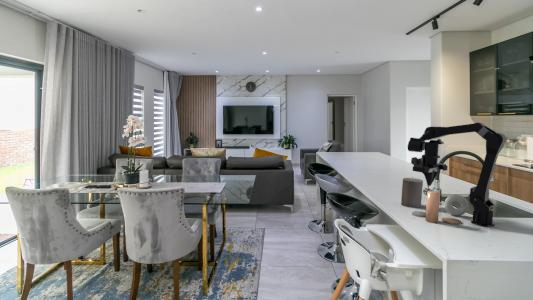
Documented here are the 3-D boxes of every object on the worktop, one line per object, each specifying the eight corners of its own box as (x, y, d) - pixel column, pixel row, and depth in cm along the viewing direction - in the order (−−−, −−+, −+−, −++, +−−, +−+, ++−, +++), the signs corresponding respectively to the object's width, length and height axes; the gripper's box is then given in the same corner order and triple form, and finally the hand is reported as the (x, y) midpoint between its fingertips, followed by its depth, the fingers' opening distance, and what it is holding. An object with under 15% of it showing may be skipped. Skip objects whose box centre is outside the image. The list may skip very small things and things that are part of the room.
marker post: (440, 222, 142) (442, 193, 141) (432, 223, 140) (434, 193, 139) (431, 219, 147) (433, 190, 145) (422, 220, 145) (424, 191, 144)
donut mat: (465, 223, 141) (465, 221, 141) (452, 224, 139) (452, 223, 139) (449, 218, 148) (450, 216, 148) (437, 219, 146) (437, 218, 146)
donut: (443, 215, 153) (445, 194, 152) (443, 213, 156) (444, 192, 155) (468, 217, 149) (470, 196, 148) (467, 215, 152) (468, 194, 151)
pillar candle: (397, 204, 171) (399, 176, 169) (406, 201, 177) (408, 174, 175) (415, 209, 163) (417, 179, 162) (424, 205, 170) (426, 177, 168)
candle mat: (433, 216, 151) (433, 215, 151) (420, 217, 148) (421, 216, 148) (420, 211, 158) (420, 210, 158) (408, 213, 155) (408, 212, 155)
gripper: (427, 150, 166) (425, 181, 167) (403, 152, 156) (401, 184, 158) (449, 153, 156) (446, 185, 158) (425, 154, 147) (422, 188, 148)
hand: (429, 185), depth 156 cm, fingers closed
